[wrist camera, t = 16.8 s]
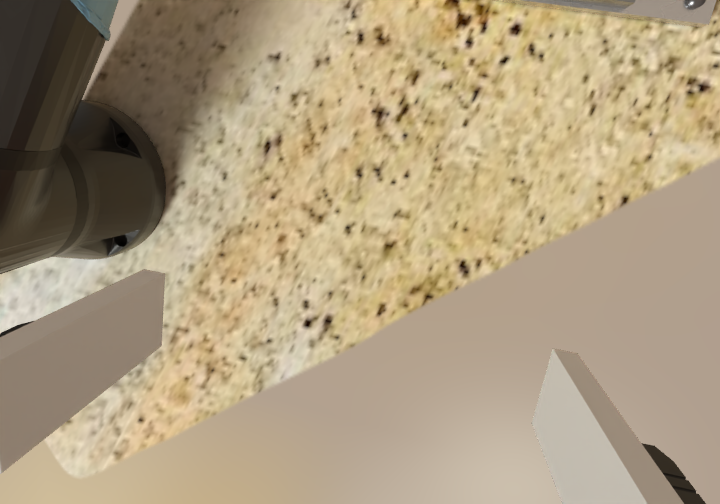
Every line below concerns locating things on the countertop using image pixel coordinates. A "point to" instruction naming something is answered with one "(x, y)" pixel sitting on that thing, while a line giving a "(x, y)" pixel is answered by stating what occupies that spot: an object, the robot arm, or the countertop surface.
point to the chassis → (637, 9)
